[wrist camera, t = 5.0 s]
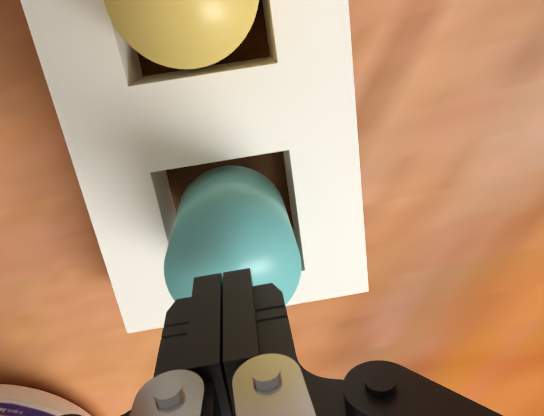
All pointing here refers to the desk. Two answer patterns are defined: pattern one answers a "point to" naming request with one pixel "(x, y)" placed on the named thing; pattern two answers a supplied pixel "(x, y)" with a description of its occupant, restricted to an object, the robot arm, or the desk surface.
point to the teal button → (232, 232)
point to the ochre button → (183, 28)
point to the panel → (208, 139)
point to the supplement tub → (34, 403)
